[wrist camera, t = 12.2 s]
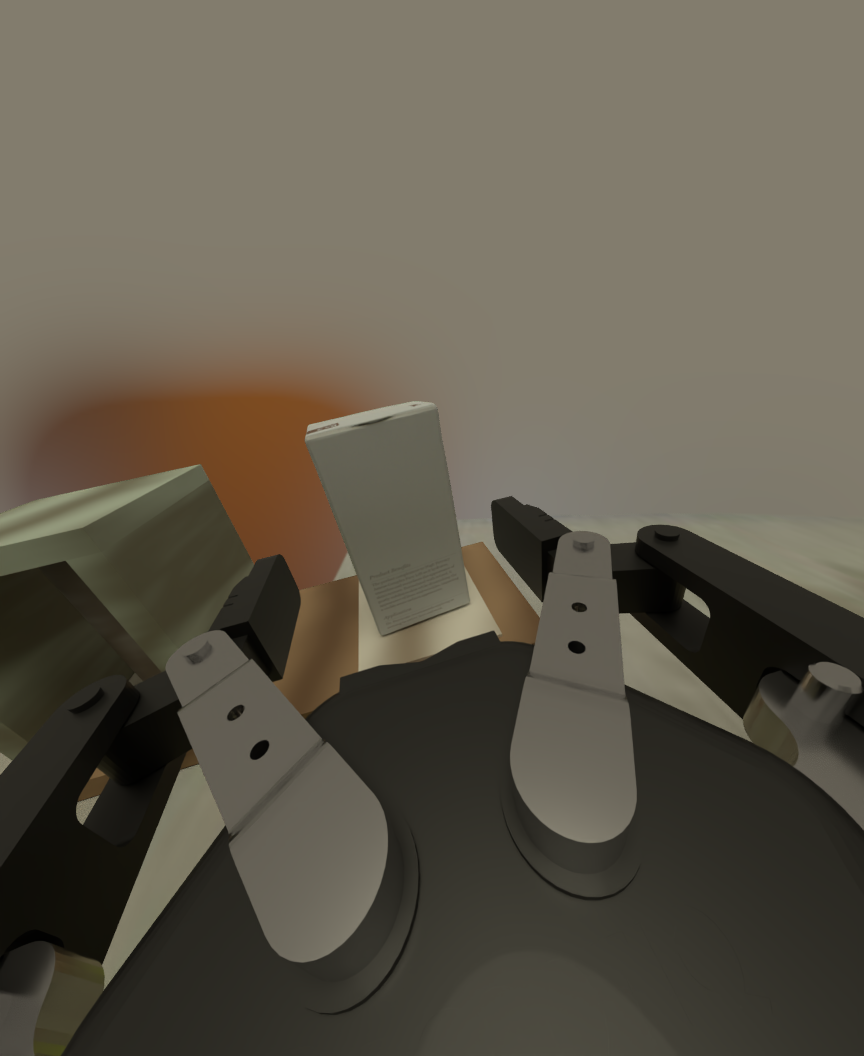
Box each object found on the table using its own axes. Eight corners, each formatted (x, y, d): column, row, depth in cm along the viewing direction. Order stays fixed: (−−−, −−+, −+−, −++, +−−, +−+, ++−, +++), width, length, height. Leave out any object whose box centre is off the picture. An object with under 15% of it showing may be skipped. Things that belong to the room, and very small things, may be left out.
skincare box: (448, 570, 23) (416, 397, 18) (474, 607, 19) (443, 400, 14) (367, 599, 22) (305, 421, 16) (377, 644, 18) (301, 432, 13)
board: (36, 814, 14) (-286, 620, 9) (166, 639, 24) (51, 494, 19) (553, 652, 17) (555, 426, 12) (483, 553, 27) (466, 404, 21)
